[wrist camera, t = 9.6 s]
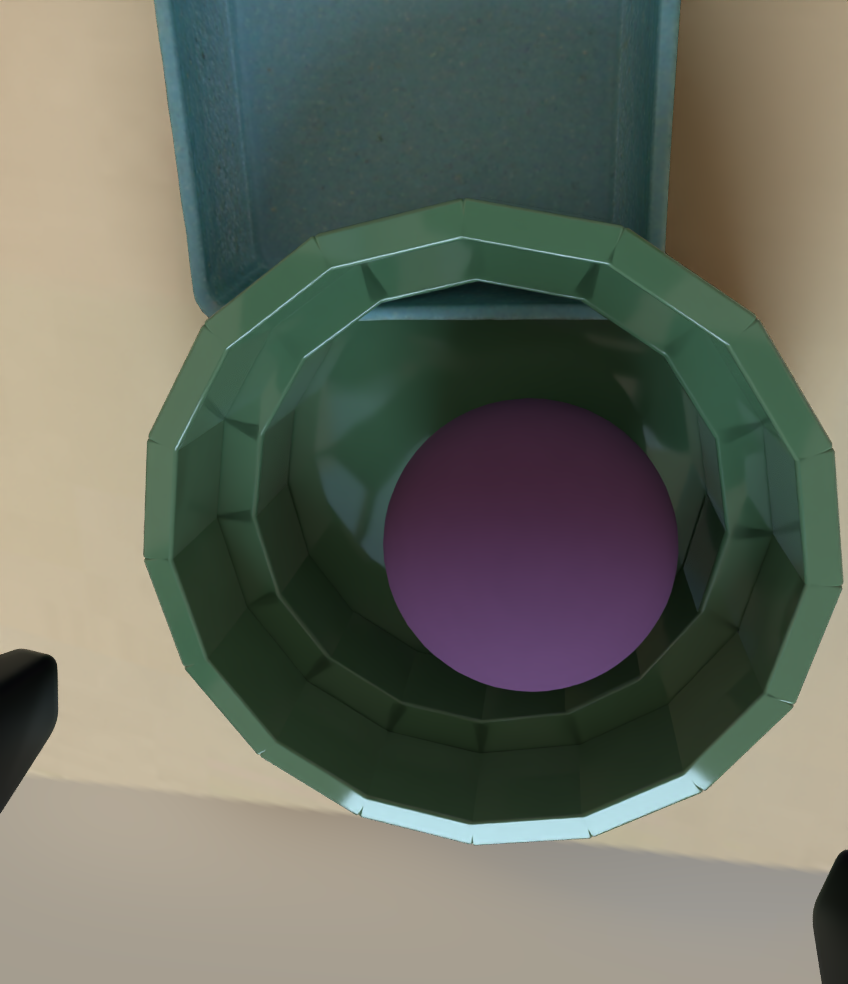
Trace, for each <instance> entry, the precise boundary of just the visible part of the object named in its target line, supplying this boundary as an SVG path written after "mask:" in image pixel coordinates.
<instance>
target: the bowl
mask: <svg viewBox="0 0 848 984" xmlns="http://www.w3.org/2000/svg"><path fill="white" fill-rule="evenodd" d="M474 282H483V283H488V284H494V285H499V286H504V287H510V288H515V289H520V290H526V291H531V292H536V293H542V294H547V295H552V296H558V297H563V298H568V299H574V300H579V301H581V302H582V303H584V304H585V305H587V306H588V307H590V308H591V309H593V310H594V311H596V312H597V313H599V314H600V315H602V316H603V317H605V318H606V319H608V320H491V319H487V320H371V321H359V320H360V319H362V318H363V317H364V316H366V315H367V314H368V313H370V312H371V311H372V310H374V309H375V308H376V307H378V306H379V305H381V304H382V303H385V302H389V301H394V300H398V299H403V298H407V297H412V296H416V295H420V294H425V293H429V292H434V291H438V290H443V289H447V288H452V287H456V286H461V285H465V284H470V283H474ZM524 398H536V399H549V400H554V401H560V402H564V403H568V404H572V405H575V406H578V407H581V408H584V409H587V410H589V411H591V412H593V413H595V414H597V415H599V416H601V417H603V418H604V419H606V420H608V421H610V422H611V423H613V424H614V425H615V426H617V427H618V428H620V429H621V430H622V431H624V432H625V433H626V434H627V435H628V436H629V437H630V438H631V439H632V440H633V441H634V442H635V443H636V444H637V445H638V446H639V447H640V448H641V449H642V450H643V451H644V452H645V453H646V455H647V456H648V458H649V459H650V460H651V462H652V463H653V464H654V466H655V468H656V469H657V471H658V472H659V474H660V476H661V478H662V480H663V482H664V484H665V486H666V488H667V491H668V494H669V497H670V500H671V503H672V506H673V509H674V512H675V517H676V523H677V529H678V553H679V554H678V562H677V570H676V575H675V579H674V583H673V587H672V591H671V594H670V597H669V599H668V602H667V604H666V606H665V608H664V610H663V612H662V614H661V616H660V618H659V620H658V621H657V623H656V624H655V626H654V627H653V629H652V630H651V632H650V633H649V635H648V636H647V637H646V638H645V639H644V641H643V642H642V643H641V644H640V645H639V646H638V647H637V648H636V649H635V650H634V651H633V652H632V653H631V654H630V655H629V656H628V657H627V658H625V659H624V660H623V661H622V662H620V663H619V664H618V665H616V666H615V667H613V668H611V669H610V670H608V671H607V672H605V673H603V674H601V675H599V676H597V677H595V678H593V679H591V680H588V681H586V682H583V683H581V684H577V685H573V686H570V687H566V688H562V689H556V690H550V691H537V692H528V691H515V690H509V689H503V688H498V687H493V686H490V685H487V684H484V683H481V682H478V681H476V680H474V679H472V678H469V677H467V676H465V675H463V674H461V673H459V672H457V671H456V670H454V669H453V668H451V667H450V666H448V665H447V664H445V663H444V662H443V661H441V660H440V659H439V658H437V657H436V656H435V655H434V654H433V653H432V652H431V651H429V650H428V649H427V648H426V647H425V646H424V645H423V643H422V642H421V641H420V640H419V639H418V637H417V636H416V635H415V634H414V632H413V631H412V630H411V629H410V627H409V626H408V625H407V623H406V621H405V619H404V618H403V616H402V614H401V612H400V611H399V608H398V606H397V604H396V602H395V600H394V597H393V594H392V592H391V589H390V587H389V582H388V577H387V572H386V568H385V563H384V551H383V539H384V526H385V518H386V513H387V509H388V505H389V501H390V499H391V496H392V493H393V491H394V488H395V485H396V483H397V481H398V479H399V477H400V475H401V474H402V472H403V470H404V468H405V466H406V465H407V463H408V462H409V460H410V459H411V458H412V456H413V455H414V453H415V452H416V451H417V450H418V449H419V448H420V447H421V446H422V444H423V443H424V442H425V441H426V440H427V439H428V438H429V437H431V436H432V435H433V434H434V433H435V432H436V431H437V430H439V429H440V428H441V427H443V426H444V425H446V424H447V423H449V422H450V421H452V420H453V419H455V418H456V417H458V416H460V415H462V414H464V413H466V412H468V411H470V410H473V409H475V408H478V407H481V406H484V405H487V404H491V403H495V402H499V401H504V400H513V399H524ZM143 555H144V557H145V559H144V562H145V564H146V567H147V570H148V572H149V575H150V578H151V580H152V583H153V586H154V588H155V591H156V594H157V597H158V599H159V602H160V605H161V607H162V610H163V613H164V615H165V618H166V621H167V623H168V626H169V629H170V631H171V634H172V637H173V640H174V642H175V645H176V648H177V650H178V653H179V656H180V658H181V661H182V664H183V665H184V666H185V670H186V671H187V672H188V673H189V674H190V676H191V677H192V678H193V679H194V680H195V681H196V683H197V684H198V685H199V686H200V687H201V689H202V690H203V691H204V692H205V693H206V694H207V696H208V697H209V698H210V699H211V700H212V701H213V703H214V704H215V705H216V706H217V707H218V709H219V710H220V711H221V712H222V713H223V714H224V716H225V717H226V718H227V719H228V720H229V721H230V723H231V724H232V725H233V726H234V727H235V729H236V730H237V731H238V732H239V733H240V734H241V736H242V737H243V738H244V739H245V740H246V741H247V743H248V744H249V745H250V746H251V747H252V749H253V750H254V751H255V752H256V753H257V754H258V755H259V754H260V756H261V757H262V758H264V759H265V760H267V761H269V762H270V763H272V764H273V765H275V766H277V767H278V768H280V769H282V770H283V771H285V772H287V773H288V774H290V775H291V776H293V777H295V778H296V779H298V780H300V781H301V782H303V783H305V784H306V785H308V786H309V787H311V788H313V789H314V790H316V791H318V792H319V793H321V794H323V795H324V796H326V797H327V798H329V799H331V800H332V801H334V802H336V803H337V804H339V805H341V806H342V807H344V808H345V809H347V810H349V811H350V812H352V813H354V814H355V815H358V814H359V815H360V816H361V817H363V818H367V819H371V820H375V821H379V822H383V823H387V824H391V825H396V826H399V827H403V828H407V829H411V830H415V831H419V832H423V833H427V834H431V835H435V836H439V837H443V838H447V839H451V840H455V841H459V842H463V843H467V844H472V843H473V845H488V844H504V843H521V842H537V841H554V840H570V839H586V838H591V837H592V836H597V835H600V834H602V833H604V832H607V831H609V830H612V829H614V828H617V827H619V826H621V825H624V824H626V823H629V822H631V821H634V820H636V819H638V818H641V817H643V816H646V815H648V814H651V813H653V812H655V811H658V810H660V809H663V808H665V807H668V806H670V805H672V804H675V803H677V802H680V801H682V800H685V799H687V798H689V797H692V796H694V795H697V794H699V793H701V792H702V791H703V790H707V789H708V788H709V787H710V786H711V785H712V784H713V783H714V782H715V781H716V780H717V779H719V778H720V777H721V776H722V775H723V774H724V773H725V772H726V771H727V770H728V769H729V768H730V767H731V766H732V765H733V764H734V763H735V762H736V761H737V760H738V759H740V758H741V757H742V756H743V755H744V754H745V753H746V752H747V751H748V750H749V749H750V748H751V747H752V746H753V745H754V744H755V743H756V742H757V741H758V740H759V739H761V738H762V737H763V736H764V735H765V734H766V733H767V732H768V731H769V730H770V729H771V728H772V727H773V726H774V725H775V724H776V723H777V722H778V721H779V720H781V719H782V718H783V717H784V716H785V715H786V714H787V713H788V712H789V711H790V710H791V709H792V708H793V704H795V703H796V700H797V698H798V695H799V693H800V690H801V688H802V686H803V683H804V681H805V678H806V676H807V673H808V671H809V669H810V666H811V664H812V661H813V659H814V656H815V654H816V652H817V649H818V647H819V644H820V642H821V639H822V637H823V634H824V632H825V630H826V627H827V625H828V622H829V620H830V617H831V615H832V613H833V610H834V608H835V605H836V603H837V600H838V598H839V596H840V593H841V591H842V584H843V568H842V553H841V538H840V523H839V508H838V494H837V479H836V464H835V451H834V449H833V448H832V442H831V440H830V439H829V437H828V435H827V433H826V432H825V430H824V428H823V427H822V425H821V423H820V422H819V420H818V418H817V416H816V415H815V413H814V411H813V410H812V408H811V406H810V404H809V403H808V401H807V399H806V398H805V396H804V394H803V393H802V391H801V389H800V387H799V386H798V384H797V382H796V381H795V379H794V377H793V375H792V374H791V372H790V370H789V369H788V367H787V365H786V363H785V362H784V360H783V358H782V357H781V355H780V353H779V352H778V350H777V348H776V346H775V345H774V343H773V341H772V340H771V338H770V336H769V334H768V333H767V331H766V329H765V328H764V326H763V324H762V323H761V321H760V320H759V319H757V318H756V315H755V314H754V313H752V312H751V311H749V310H748V309H746V308H745V307H744V306H742V305H741V304H739V303H738V302H736V301H735V300H733V299H732V298H730V297H729V296H727V295H726V294H724V293H723V292H722V291H720V290H719V289H717V288H716V287H714V286H713V285H711V284H710V283H708V282H707V281H705V280H704V279H702V278H701V277H700V276H698V275H697V274H695V273H694V272H692V271H691V270H689V269H688V268H686V267H685V266H683V265H682V264H681V263H679V262H678V261H676V260H675V259H673V258H672V257H670V256H669V255H667V254H666V253H664V252H663V251H661V250H660V249H659V248H657V247H656V246H654V245H653V244H651V243H650V242H648V241H647V240H645V239H644V238H642V237H641V236H639V235H638V234H637V233H635V232H634V231H632V230H631V229H629V228H628V227H625V226H623V225H621V224H619V223H616V222H614V221H611V220H609V219H607V218H604V217H599V216H593V215H587V214H582V213H576V212H570V211H565V210H559V209H554V208H548V207H542V206H537V205H531V204H525V203H520V202H514V201H508V200H503V199H497V198H491V197H467V198H457V199H453V200H449V201H445V202H441V203H437V204H433V205H429V206H425V207H421V208H417V209H413V210H409V211H405V212H401V213H397V214H393V215H389V216H385V217H381V218H377V219H373V220H369V221H365V222H361V223H357V224H353V225H349V226H345V227H341V228H337V229H333V230H329V231H325V232H321V233H318V234H316V235H315V236H311V237H309V238H308V239H307V240H306V241H304V242H303V243H302V244H301V245H300V246H298V247H297V248H296V249H295V250H293V251H292V252H291V253H290V254H288V255H287V256H286V257H285V258H283V259H282V260H281V261H280V262H278V263H277V264H276V265H275V266H273V267H272V268H271V269H270V270H268V271H267V272H266V273H265V274H263V275H262V276H261V277H260V278H258V279H257V280H256V281H255V282H253V283H252V284H251V285H250V286H248V287H247V288H246V289H245V290H243V291H242V292H241V293H240V294H238V295H237V296H236V297H235V298H233V299H232V300H231V301H230V302H228V303H227V304H226V305H225V306H223V307H222V308H221V309H220V310H218V311H217V312H216V313H215V314H213V315H212V316H211V317H210V318H208V319H207V320H206V321H205V324H204V325H203V326H202V327H201V329H200V331H199V333H198V335H197V337H196V339H195V341H194V343H193V345H192V348H191V350H190V352H189V354H188V356H187V358H186V360H185V362H184V364H183V366H182V368H181V370H180V372H179V374H178V376H177V378H176V380H175V382H174V384H173V386H172V388H171V390H170V392H169V394H168V396H167V398H166V400H165V402H164V404H163V406H162V408H161V411H160V413H159V415H158V417H157V419H156V421H155V423H154V425H153V427H152V429H151V431H150V433H149V439H148V441H147V460H146V490H145V521H144V551H143Z"/></svg>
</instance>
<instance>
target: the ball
mask: <svg viewBox="0 0 848 984" xmlns="http://www.w3.org/2000/svg"><path fill="white" fill-rule="evenodd" d="M383 551H384V563H385V568H386V572H387V577H388V582H389V587H390V589H391V592H392V594H393V597H394V600H395V602H396V604H397V606H398V608H399V611H400V612H401V614H402V616H403V618H404V619H405V621H406V623H407V625H408V626H409V627H410V629H411V630H412V631H413V632H414V634H415V635H416V636H417V637H418V639H419V640H420V641H421V642H422V643H423V645H424V646H425V647H426V648H427V649H428V650H429V651H431V652H432V653H433V654H434V655H435V656H436V657H437V658H439V659H440V660H441V661H443V662H444V663H445V664H447V665H448V666H450V667H451V668H453V669H454V670H456V671H457V672H459V673H461V674H463V675H465V676H467V677H469V678H472V679H474V680H476V681H478V682H481V683H484V684H487V685H490V686H493V687H498V688H503V689H509V690H515V691H528V692H537V691H550V690H556V689H562V688H566V687H570V686H573V685H577V684H581V683H583V682H586V681H588V680H591V679H593V678H595V677H597V676H599V675H601V674H603V673H605V672H607V671H608V670H610V669H611V668H613V667H615V666H616V665H618V664H619V663H620V662H622V661H623V660H624V659H625V658H627V657H628V656H629V655H630V654H631V653H632V652H633V651H634V650H635V649H636V648H637V647H638V646H639V645H640V644H641V643H642V642H643V641H644V639H645V638H646V637H647V636H648V635H649V633H650V632H651V630H652V629H653V627H654V626H655V624H656V623H657V621H658V620H659V618H660V616H661V614H662V612H663V610H664V608H665V606H666V604H667V602H668V599H669V597H670V594H671V591H672V587H673V583H674V579H675V575H676V570H677V562H678V554H679V553H678V529H677V523H676V517H675V512H674V509H673V506H672V503H671V500H670V497H669V494H668V491H667V488H666V486H665V484H664V482H663V480H662V478H661V476H660V474H659V472H658V471H657V469H656V468H655V466H654V464H653V463H652V462H651V460H650V459H649V458H648V456H647V455H646V453H645V452H644V451H643V450H642V449H641V448H640V447H639V446H638V445H637V444H636V443H635V442H634V441H633V440H632V439H631V438H630V437H629V436H628V435H627V434H626V433H625V432H624V431H622V430H621V429H620V428H618V427H617V426H615V425H614V424H613V423H611V422H610V421H608V420H606V419H604V418H603V417H601V416H599V415H597V414H595V413H593V412H591V411H589V410H587V409H584V408H581V407H578V406H575V405H572V404H568V403H564V402H560V401H554V400H549V399H536V398H524V399H513V400H504V401H499V402H495V403H491V404H487V405H484V406H481V407H478V408H475V409H473V410H470V411H468V412H466V413H464V414H462V415H460V416H458V417H456V418H455V419H453V420H452V421H450V422H449V423H447V424H446V425H444V426H443V427H441V428H440V429H439V430H437V431H436V432H435V433H434V434H433V435H432V436H431V437H429V438H428V439H427V440H426V441H425V442H424V443H423V444H422V446H421V447H420V448H419V449H418V450H417V451H416V452H415V453H414V455H413V456H412V458H411V459H410V460H409V462H408V463H407V465H406V466H405V468H404V470H403V472H402V474H401V475H400V477H399V479H398V481H397V483H396V485H395V488H394V491H393V493H392V496H391V499H390V501H389V505H388V509H387V513H386V518H385V526H384V539H383Z"/></svg>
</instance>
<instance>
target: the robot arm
mask: <svg viewBox="0 0 848 984" xmlns="http://www.w3.org/2000/svg"><path fill="white" fill-rule="evenodd" d="M57 716H58V673H57V663H56V661H55V659H54V658H53V657H52V656H50V655H48V654H44V653H40V652H36V651H31V650H27V649H16V650H13V651H10V652H7V653H4V654H1V655H0V813H1V812H2V810H3V809H4V807H5V806H6V804H7V802H8V801H9V799H10V797H11V796H12V794H13V793H14V791H15V790H16V788H17V787H18V785H19V784H20V782H21V781H22V779H23V777H24V776H25V774H26V773H27V771H28V770H29V768H30V767H31V765H32V763H33V762H34V760H35V759H36V757H37V756H38V754H39V752H40V751H41V749H42V748H43V746H44V745H45V743H46V741H47V740H48V738H49V737H50V735H51V733H52V731H53V729H54V727H55V724H56V721H57ZM813 929H814V936H815V942H816V949H817V955H818V961H819V968H820V975H821V981H822V984H848V850H844V851H842V852H841V853H840V854H839V855H838V857H837V858H836V860H835V862H834V864H833V866H832V868H831V870H830V872H829V875H828V877H827V879H826V881H825V883H824V885H823V887H822V889H821V892H820V893H819V895H818V897H817V900H816V902H815V906H814V910H813Z"/></svg>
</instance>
